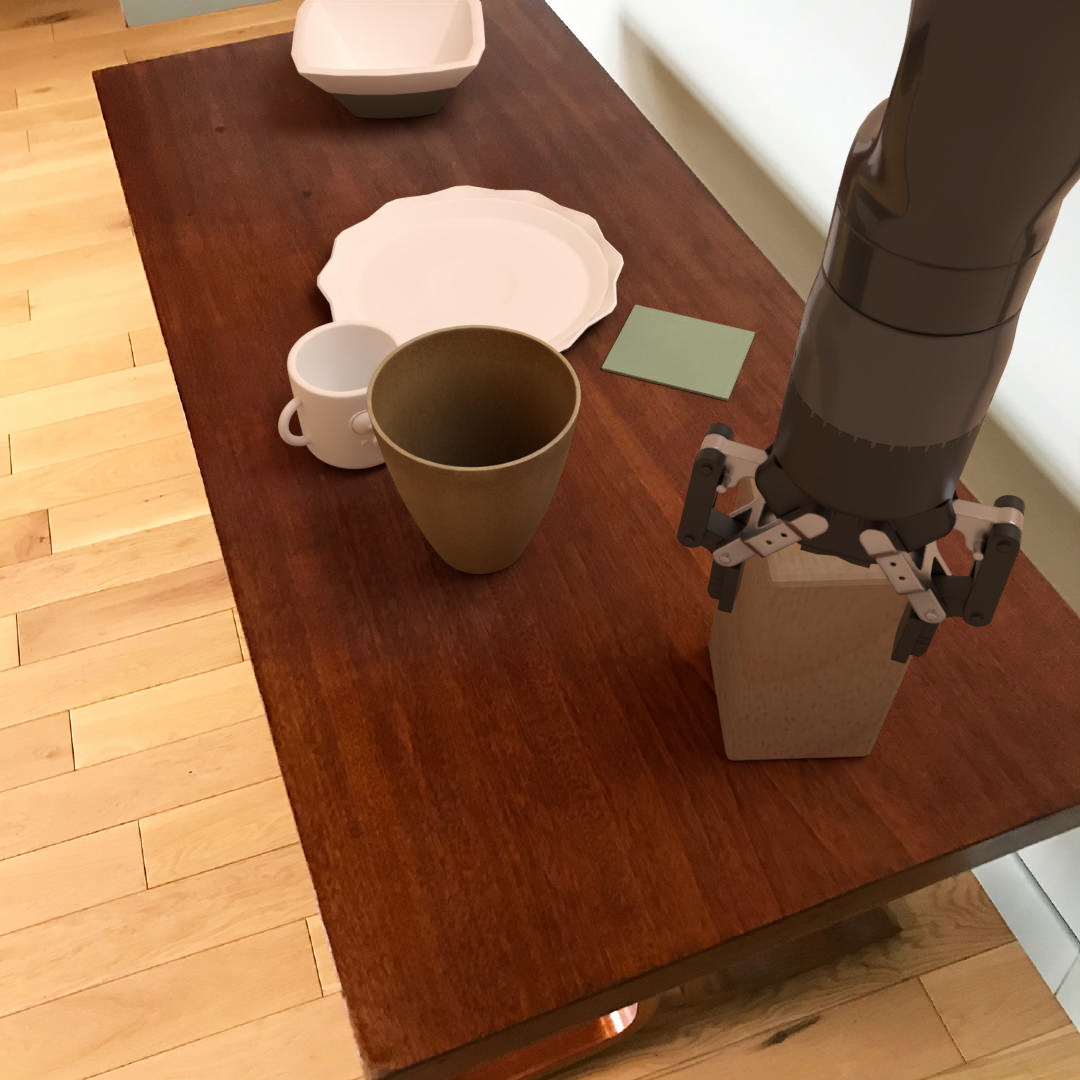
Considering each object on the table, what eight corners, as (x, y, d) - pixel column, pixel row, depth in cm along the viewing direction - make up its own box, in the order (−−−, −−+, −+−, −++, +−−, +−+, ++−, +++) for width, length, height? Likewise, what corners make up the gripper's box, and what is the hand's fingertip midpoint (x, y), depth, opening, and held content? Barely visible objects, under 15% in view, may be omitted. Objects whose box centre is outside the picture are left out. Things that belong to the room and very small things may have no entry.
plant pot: (376, 609, 85) (348, 462, 73) (405, 470, 95) (384, 319, 83) (571, 620, 84) (575, 473, 72) (580, 478, 94) (585, 327, 82)
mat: (754, 334, 106) (755, 332, 106) (727, 401, 100) (728, 398, 100) (634, 306, 109) (635, 304, 109) (601, 369, 103) (601, 367, 103)
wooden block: (725, 763, 76) (770, 582, 61) (706, 644, 83) (742, 453, 68) (871, 759, 76) (951, 577, 61) (840, 639, 83) (906, 448, 68)
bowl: (482, 48, 144) (479, -20, 138) (491, 140, 129) (488, 69, 123) (311, 55, 143) (299, -13, 137) (299, 149, 128) (286, 78, 122)
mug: (324, 511, 92) (306, 431, 85) (261, 443, 97) (238, 363, 90) (442, 445, 97) (434, 365, 90) (376, 384, 102) (363, 303, 95)
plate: (366, 195, 122) (363, 175, 120) (633, 217, 119) (635, 197, 117) (286, 371, 103) (282, 351, 101) (602, 402, 100) (603, 382, 98)
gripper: (685, 390, 42) (652, 640, 54) (1082, 486, 39) (951, 729, 51) (733, 277, 47) (693, 531, 59) (1092, 354, 43) (970, 606, 56)
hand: (813, 623), depth 55 cm, fingers open, 8 cm apart
